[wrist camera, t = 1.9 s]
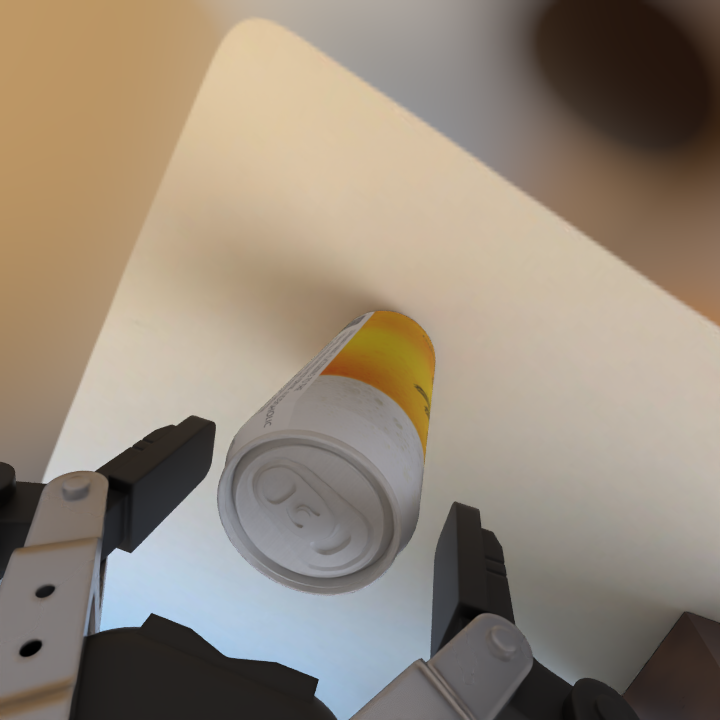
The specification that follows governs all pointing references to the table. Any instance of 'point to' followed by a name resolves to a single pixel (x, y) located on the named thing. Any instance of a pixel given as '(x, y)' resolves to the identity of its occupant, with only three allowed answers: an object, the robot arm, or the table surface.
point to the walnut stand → (681, 674)
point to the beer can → (335, 461)
